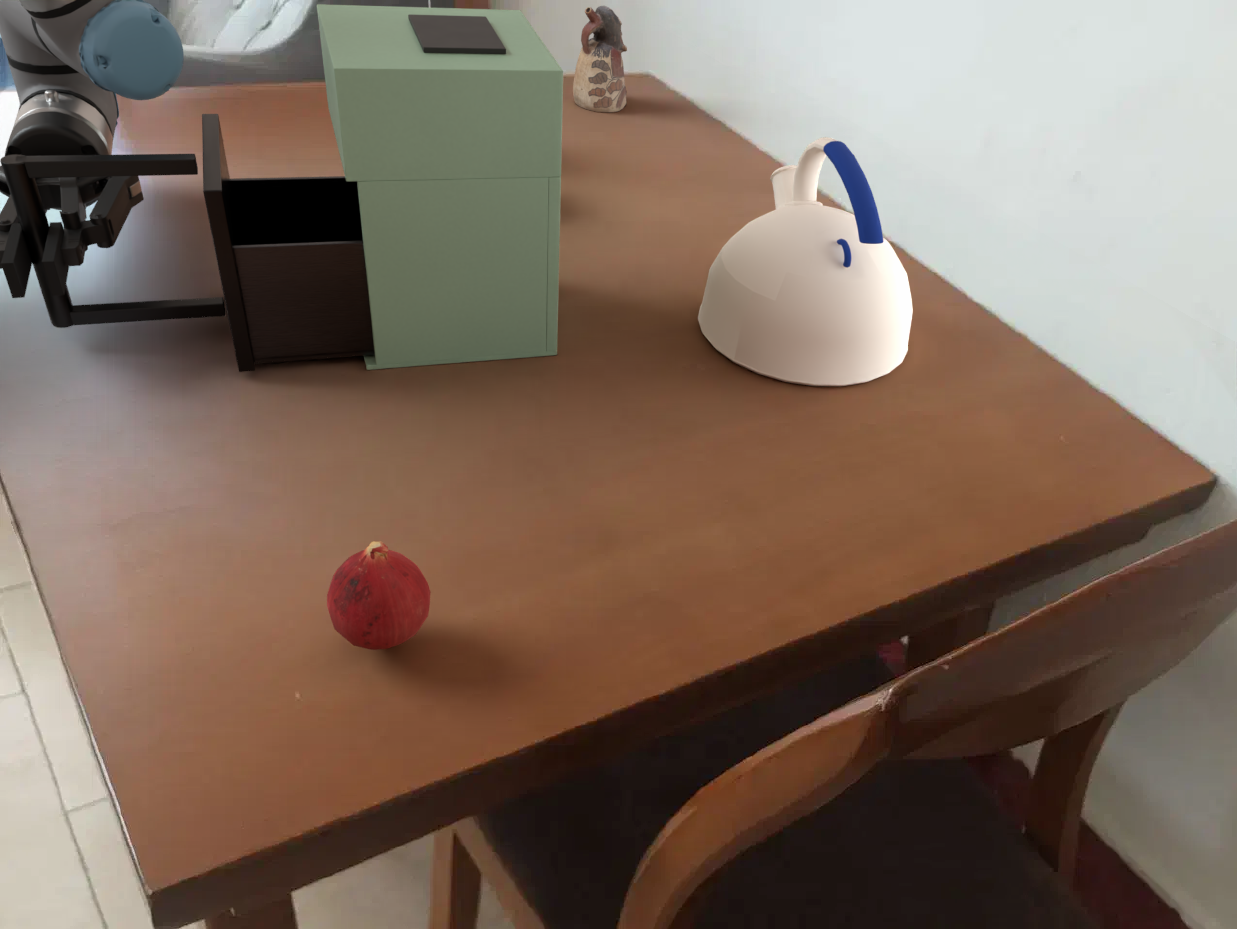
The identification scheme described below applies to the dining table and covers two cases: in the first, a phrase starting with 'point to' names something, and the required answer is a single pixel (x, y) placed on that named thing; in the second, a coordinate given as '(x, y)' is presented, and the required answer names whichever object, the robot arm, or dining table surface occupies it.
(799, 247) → the kettle
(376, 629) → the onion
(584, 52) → the figurine
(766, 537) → the dining table surface
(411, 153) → the sage green appliance box
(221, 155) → the dark brown drawer
